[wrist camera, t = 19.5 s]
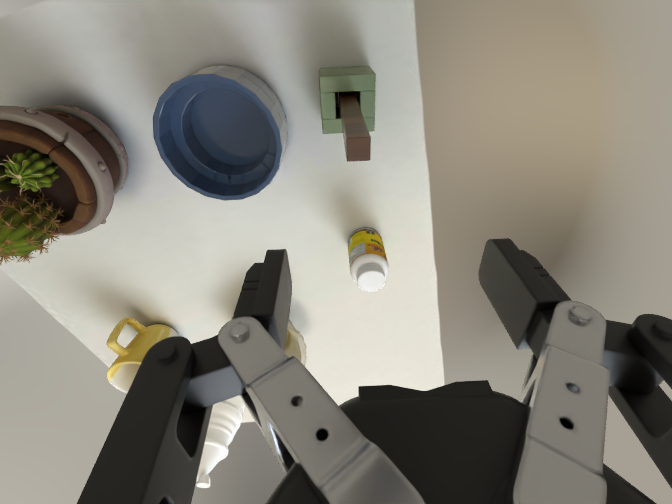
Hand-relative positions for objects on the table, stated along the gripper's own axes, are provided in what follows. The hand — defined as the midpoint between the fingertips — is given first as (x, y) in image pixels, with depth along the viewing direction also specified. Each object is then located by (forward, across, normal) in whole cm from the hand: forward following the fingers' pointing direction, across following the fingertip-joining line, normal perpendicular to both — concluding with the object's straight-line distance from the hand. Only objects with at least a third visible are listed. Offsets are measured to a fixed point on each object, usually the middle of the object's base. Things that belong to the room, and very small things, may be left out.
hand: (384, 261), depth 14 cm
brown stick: (+34, 0, 0) cm, 34 cm away
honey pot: (+34, +32, +66) cm, 81 cm away
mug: (+34, +38, +40) cm, 65 cm away
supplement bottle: (+34, -2, +22) cm, 41 cm away
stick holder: (+34, 0, 0) cm, 34 cm away
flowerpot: (+34, +34, +5) cm, 49 cm away
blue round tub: (+34, +14, +3) cm, 37 cm away
